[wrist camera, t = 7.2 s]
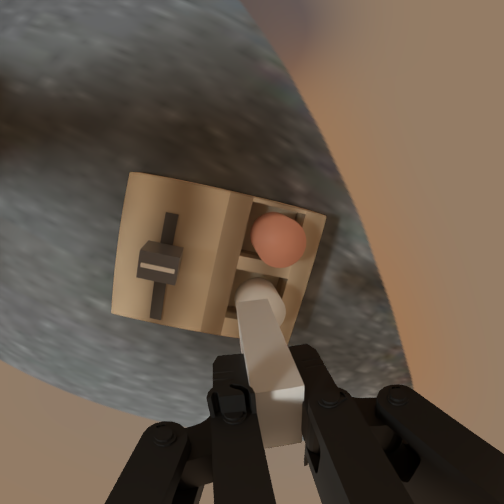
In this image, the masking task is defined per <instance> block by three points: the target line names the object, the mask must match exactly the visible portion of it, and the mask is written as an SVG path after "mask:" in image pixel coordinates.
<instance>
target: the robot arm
mask: <svg viewBox="0 0 504 504" xmlns="http://www.w3.org/2000/svg"><path fill="white" fill-rule="evenodd" d="M236 307H237V318H238V327H239V337H240V347H241V354H233V355H223V356H218V357H217V358H216V360H215V361H214V363H213V388H212V389H211V390H210V391H209V392H208V395H207V402H208V407H209V411H210V416H209V417H208V418H207V419H206V420H205V421H203V422H202V423H200V424H197V425H195V426H191V427H188V428H184V427H183V426H181V425H180V424H178V423H175V422H167V421H163V422H159V423H155V424H153V425H152V426H150V427H148V428H147V429H146V431H145V432H144V433H143V435H142V436H141V438H140V440H139V442H138V444H137V446H136V447H135V449H134V451H133V453H132V455H131V456H130V458H129V460H128V462H127V464H126V466H125V467H124V469H123V471H122V473H121V475H120V477H119V478H118V480H117V482H116V484H115V486H114V487H113V490H112V491H111V493H110V495H109V497H108V499H107V500H106V502H105V504H199V501H200V498H201V495H202V491H203V488H204V485H205V484H208V483H212V482H213V490H214V504H276V501H275V497H274V493H273V488H272V483H271V479H270V474H269V470H268V465H267V460H266V455H265V450H264V448H272V447H278V446H284V445H289V444H295V443H301V442H302V435H303V438H304V441H305V443H306V444H305V455H304V466H306V465H307V464H308V463H309V467H310V469H311V472H312V475H313V478H314V481H315V484H316V487H317V490H318V493H319V496H320V499H321V502H322V504H504V454H503V453H502V452H500V451H499V450H497V449H496V448H494V447H493V446H491V445H490V444H489V443H487V442H486V441H484V440H483V439H481V438H480V437H479V436H477V435H476V434H474V433H473V432H471V431H470V430H469V429H467V428H466V427H464V426H463V425H462V424H460V423H459V422H457V421H456V420H455V419H453V418H452V417H450V416H449V415H448V414H446V413H445V412H443V411H442V410H441V409H439V408H438V407H436V406H435V405H434V404H432V403H431V402H429V401H428V400H427V399H425V398H424V397H422V396H421V395H420V394H418V393H417V392H416V391H414V390H413V389H411V388H409V387H407V386H404V385H399V384H398V385H389V386H386V387H384V388H383V389H381V390H380V391H379V393H378V395H377V398H355V397H351V395H350V394H349V393H348V392H347V391H346V390H343V389H341V388H338V387H337V386H336V384H335V382H334V381H333V379H332V377H331V375H330V374H329V372H328V370H327V368H326V367H325V365H324V363H323V361H322V360H321V359H320V356H319V354H318V353H317V351H316V349H314V348H313V347H311V346H310V345H308V344H303V345H297V346H290V347H288V346H287V343H286V341H285V339H284V336H283V334H282V332H281V329H280V327H279V325H278V322H277V320H276V317H275V315H274V313H273V310H272V308H271V306H270V303H269V301H268V299H260V300H251V301H241V302H236Z"/></svg>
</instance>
